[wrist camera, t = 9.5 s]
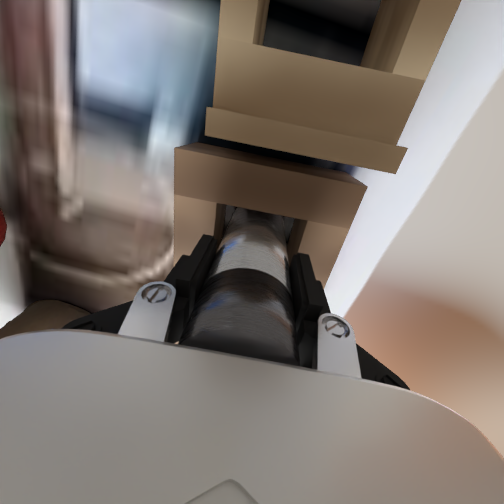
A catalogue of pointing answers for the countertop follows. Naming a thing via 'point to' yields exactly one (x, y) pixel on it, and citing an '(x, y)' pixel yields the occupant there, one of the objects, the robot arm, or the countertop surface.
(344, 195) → the socket block
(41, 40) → the countertop surface
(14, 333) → the pillar candle
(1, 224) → the onion
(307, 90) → the frame
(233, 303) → the capped metal cylinder
